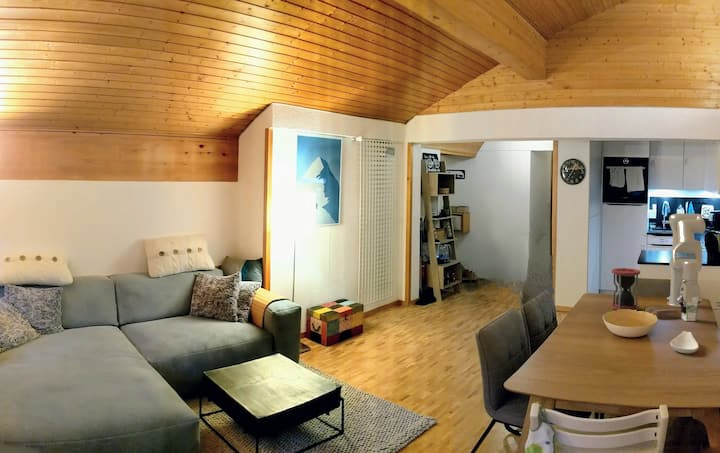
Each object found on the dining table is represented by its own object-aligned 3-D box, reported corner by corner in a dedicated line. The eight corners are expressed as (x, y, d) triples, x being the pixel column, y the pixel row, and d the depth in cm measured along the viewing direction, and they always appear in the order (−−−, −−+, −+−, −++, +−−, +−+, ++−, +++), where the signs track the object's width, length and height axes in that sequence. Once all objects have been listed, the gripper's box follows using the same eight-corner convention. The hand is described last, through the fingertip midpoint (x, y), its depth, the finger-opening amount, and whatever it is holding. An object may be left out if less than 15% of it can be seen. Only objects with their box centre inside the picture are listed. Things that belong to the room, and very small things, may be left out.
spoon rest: (697, 357, 246) (697, 342, 245) (668, 353, 253) (668, 338, 252) (701, 344, 265) (701, 330, 264) (673, 340, 272) (674, 326, 271)
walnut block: (644, 314, 322) (644, 306, 322) (663, 313, 323) (663, 305, 323) (657, 319, 311) (657, 311, 310) (676, 318, 311) (676, 310, 311)
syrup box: (691, 318, 309) (692, 294, 308) (696, 321, 303) (697, 296, 302) (681, 318, 310) (681, 294, 308) (686, 321, 304) (687, 296, 302)
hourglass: (644, 309, 334) (645, 270, 331) (631, 313, 324) (632, 273, 322) (618, 304, 346) (619, 267, 344) (606, 308, 337) (606, 270, 335)
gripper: (681, 284, 299) (680, 315, 301) (708, 282, 302) (707, 313, 304) (671, 281, 307) (670, 311, 308) (698, 280, 309) (697, 310, 311)
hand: (689, 312), depth 306 cm, fingers closed on syrup box, 6 cm apart
